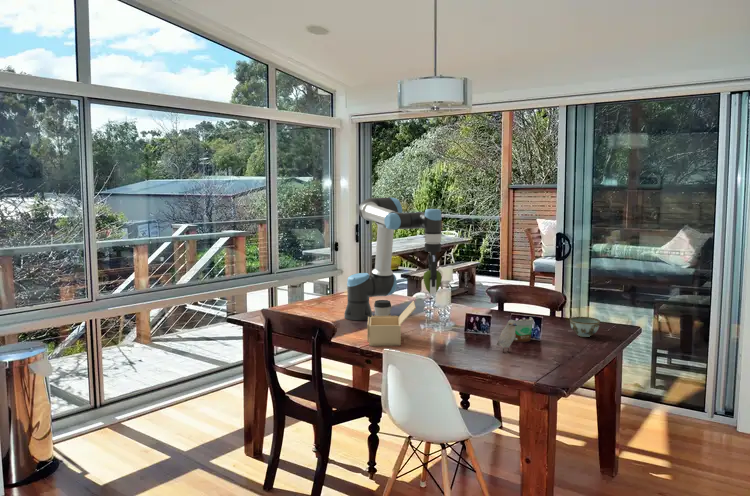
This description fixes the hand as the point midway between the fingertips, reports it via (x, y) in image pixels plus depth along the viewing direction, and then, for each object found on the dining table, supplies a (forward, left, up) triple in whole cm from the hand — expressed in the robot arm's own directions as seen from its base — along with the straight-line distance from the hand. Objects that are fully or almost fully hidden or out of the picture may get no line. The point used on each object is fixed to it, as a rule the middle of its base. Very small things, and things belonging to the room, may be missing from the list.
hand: (432, 291), depth 286 cm
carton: (+3, -22, -22) cm, 31 cm away
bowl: (-5, +72, -23) cm, 76 cm away
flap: (+3, -15, -13) cm, 20 cm away
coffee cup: (-14, -23, -23) cm, 35 cm away
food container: (+3, +42, -23) cm, 48 cm away
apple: (0, 0, -1) cm, 1 cm away
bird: (+23, +30, -23) cm, 44 cm away
